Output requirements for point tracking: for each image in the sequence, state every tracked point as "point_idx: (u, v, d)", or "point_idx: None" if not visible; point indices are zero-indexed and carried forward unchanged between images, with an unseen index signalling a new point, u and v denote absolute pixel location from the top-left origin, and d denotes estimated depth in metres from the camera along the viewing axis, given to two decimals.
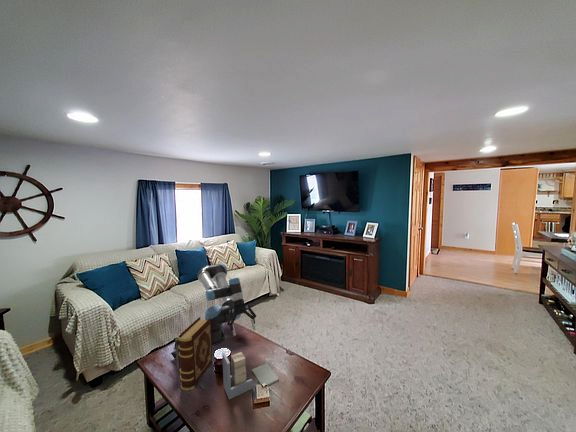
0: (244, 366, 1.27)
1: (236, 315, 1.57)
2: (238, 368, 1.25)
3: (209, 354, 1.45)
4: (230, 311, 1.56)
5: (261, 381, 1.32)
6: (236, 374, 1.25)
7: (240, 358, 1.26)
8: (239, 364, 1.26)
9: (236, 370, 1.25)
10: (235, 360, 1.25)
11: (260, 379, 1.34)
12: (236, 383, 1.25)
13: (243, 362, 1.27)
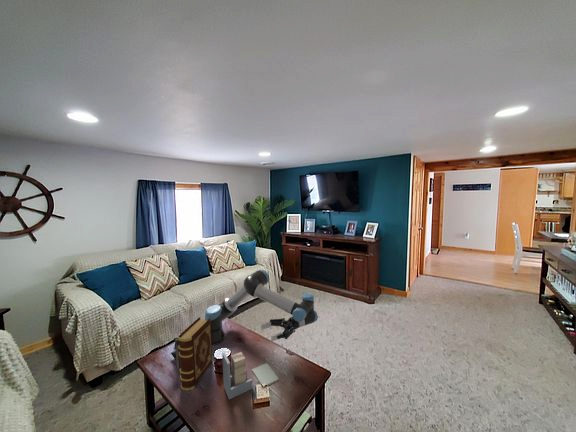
0: (244, 366, 1.27)
1: None
2: (238, 368, 1.25)
3: (209, 354, 1.45)
4: None
5: (261, 381, 1.32)
6: (236, 374, 1.25)
7: (240, 358, 1.26)
8: (239, 364, 1.26)
9: (236, 370, 1.25)
10: (235, 360, 1.25)
11: (260, 379, 1.34)
12: (236, 383, 1.25)
13: (243, 362, 1.27)
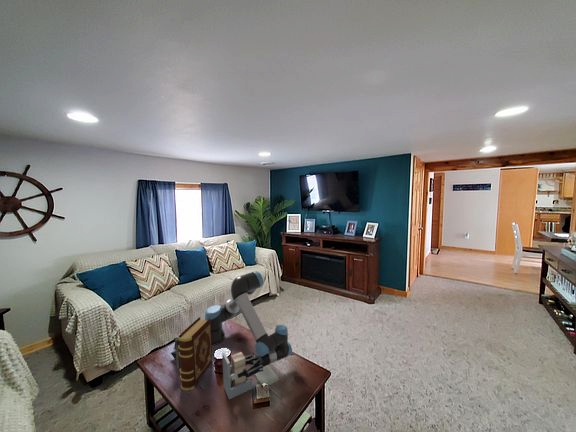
0: (244, 366, 1.27)
1: None
2: (238, 368, 1.25)
3: (209, 354, 1.45)
4: (260, 371, 1.29)
5: (261, 381, 1.32)
6: None
7: (240, 358, 1.26)
8: (239, 364, 1.26)
9: (236, 370, 1.25)
10: (235, 360, 1.25)
11: (260, 379, 1.34)
12: (236, 383, 1.25)
13: (243, 362, 1.27)
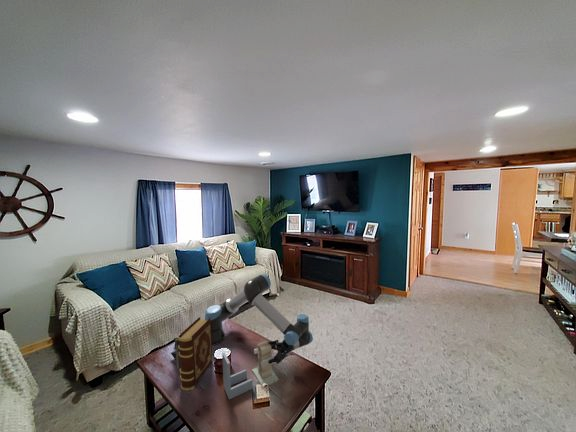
0: (270, 354, 1.35)
1: None
2: (265, 355, 1.34)
3: (209, 354, 1.45)
4: None
5: (261, 381, 1.32)
6: None
7: (266, 347, 1.35)
8: (266, 352, 1.34)
9: (263, 357, 1.33)
10: (262, 348, 1.34)
11: (260, 379, 1.34)
12: (263, 369, 1.34)
13: (270, 350, 1.35)
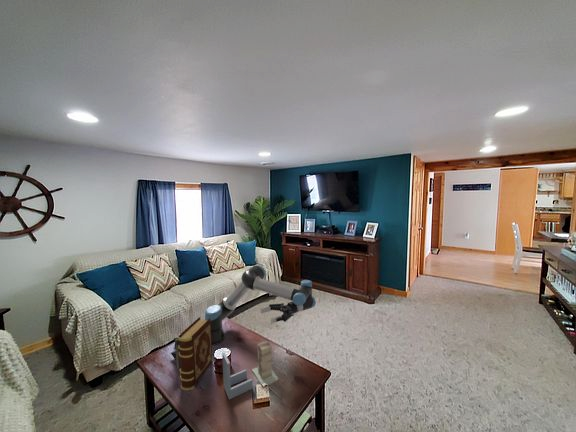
0: (270, 354, 1.35)
1: None
2: (265, 355, 1.34)
3: (209, 354, 1.45)
4: (292, 315, 1.46)
5: (261, 381, 1.32)
6: (263, 361, 1.33)
7: (266, 347, 1.35)
8: (266, 352, 1.34)
9: (263, 357, 1.33)
10: (262, 348, 1.34)
11: (260, 379, 1.34)
12: (263, 369, 1.34)
13: (270, 350, 1.35)
